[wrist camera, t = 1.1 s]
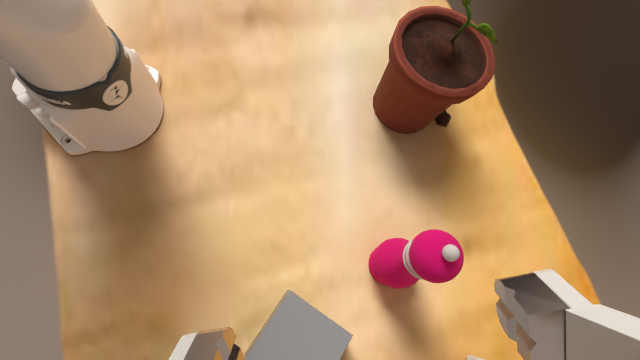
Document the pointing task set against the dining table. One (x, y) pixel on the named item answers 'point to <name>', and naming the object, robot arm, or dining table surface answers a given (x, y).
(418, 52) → the potted plant
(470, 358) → the supplement box
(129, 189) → the dining table surface
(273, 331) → the pedestal
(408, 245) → the pepper mill
